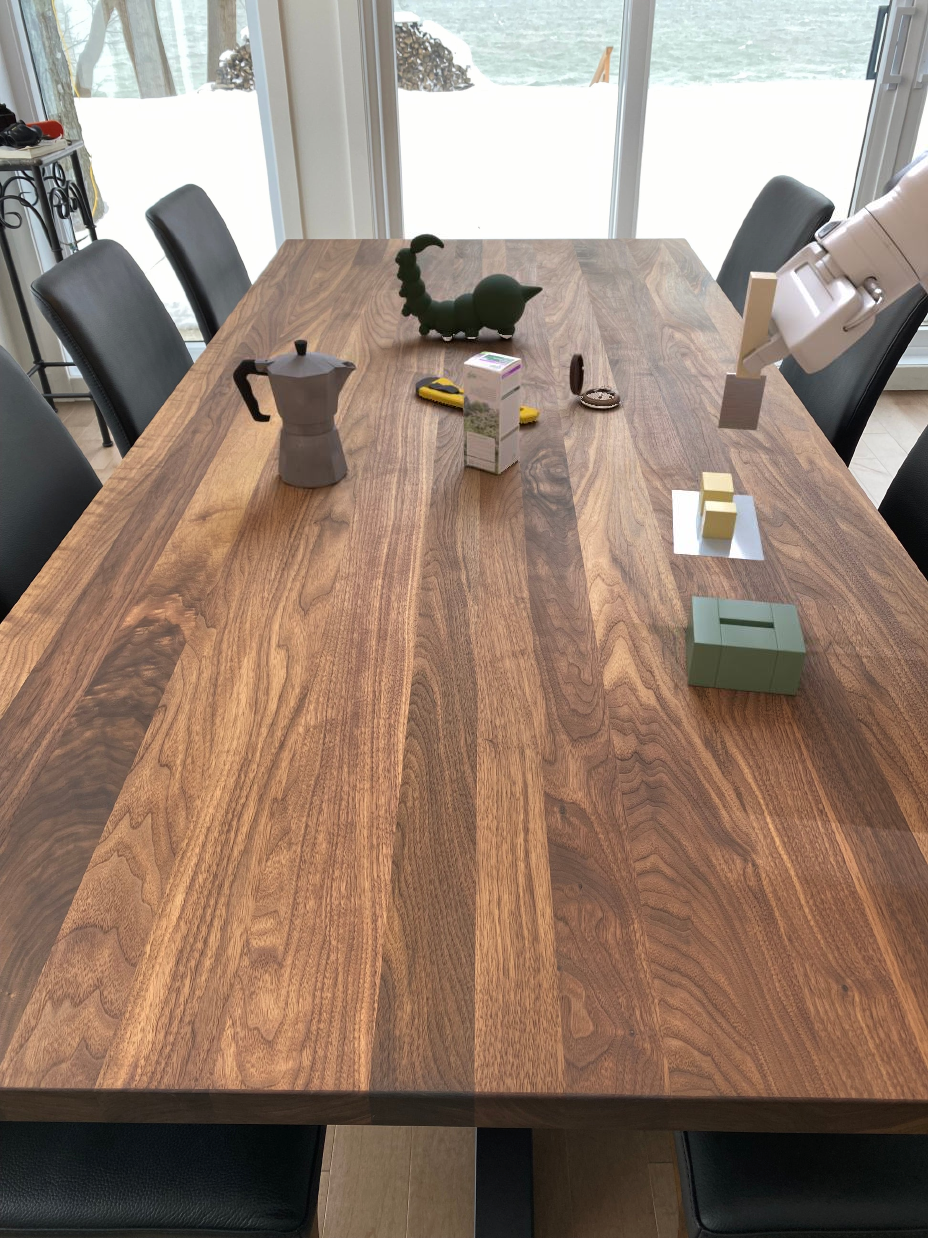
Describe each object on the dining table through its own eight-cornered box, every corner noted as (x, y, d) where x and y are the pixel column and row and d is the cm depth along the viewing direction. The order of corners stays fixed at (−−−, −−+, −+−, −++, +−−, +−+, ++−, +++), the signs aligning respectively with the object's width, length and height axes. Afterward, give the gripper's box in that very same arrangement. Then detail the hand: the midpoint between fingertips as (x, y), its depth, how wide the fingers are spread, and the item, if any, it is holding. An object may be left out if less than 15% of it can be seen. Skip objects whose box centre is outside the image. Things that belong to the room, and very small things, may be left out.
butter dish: (751, 502, 123) (752, 495, 122) (763, 568, 110) (764, 560, 109) (671, 496, 124) (672, 489, 124) (673, 560, 111) (674, 553, 111)
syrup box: (520, 460, 133) (524, 356, 125) (498, 476, 129) (500, 370, 121) (484, 450, 136) (485, 348, 127) (461, 466, 132) (461, 361, 123)
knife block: (685, 636, 99) (691, 595, 96) (786, 646, 98) (796, 604, 95) (687, 685, 92) (694, 642, 90) (796, 696, 91) (806, 652, 88)
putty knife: (755, 425, 105) (783, 272, 96) (757, 434, 103) (786, 279, 94) (717, 423, 105) (742, 270, 96) (718, 431, 103) (743, 277, 94)
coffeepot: (364, 457, 134) (356, 327, 124) (361, 488, 126) (352, 352, 116) (252, 459, 133) (234, 328, 123) (241, 490, 126) (221, 353, 115)
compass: (616, 412, 147) (620, 365, 143) (565, 406, 149) (568, 359, 145) (626, 393, 153) (631, 348, 149) (577, 388, 155) (580, 342, 151)
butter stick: (727, 499, 122) (731, 473, 120) (729, 518, 118) (734, 491, 116) (698, 496, 122) (702, 471, 120) (700, 515, 118) (704, 489, 116)
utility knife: (431, 382, 157) (431, 370, 156) (551, 414, 146) (552, 402, 145) (404, 395, 152) (404, 383, 151) (526, 429, 142) (527, 416, 140)
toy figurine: (403, 354, 173) (545, 344, 170) (389, 243, 162) (540, 230, 160) (409, 337, 181) (544, 326, 178) (395, 229, 170) (539, 217, 168)
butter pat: (731, 529, 115) (735, 502, 113) (732, 539, 113) (737, 512, 111) (700, 526, 116) (705, 500, 114) (701, 537, 114) (705, 510, 112)
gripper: (911, 324, 86) (777, 422, 93) (858, 263, 103) (748, 350, 109) (871, 270, 84) (737, 375, 90) (824, 217, 101) (714, 308, 107)
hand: (743, 361), depth 100 cm, fingers closed on putty knife, 2 cm apart
